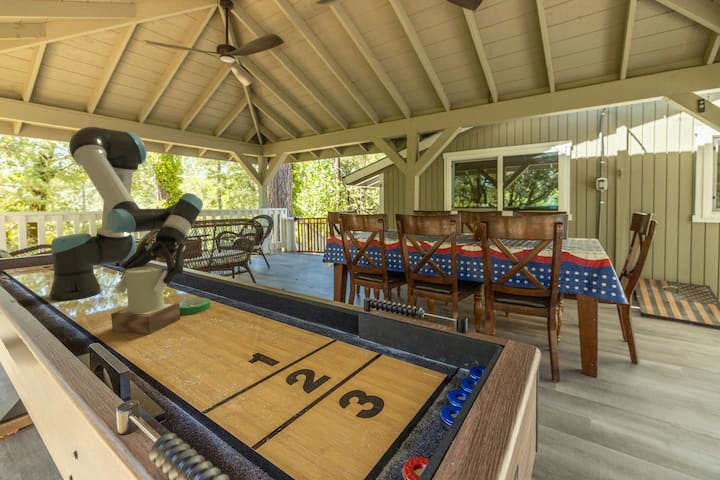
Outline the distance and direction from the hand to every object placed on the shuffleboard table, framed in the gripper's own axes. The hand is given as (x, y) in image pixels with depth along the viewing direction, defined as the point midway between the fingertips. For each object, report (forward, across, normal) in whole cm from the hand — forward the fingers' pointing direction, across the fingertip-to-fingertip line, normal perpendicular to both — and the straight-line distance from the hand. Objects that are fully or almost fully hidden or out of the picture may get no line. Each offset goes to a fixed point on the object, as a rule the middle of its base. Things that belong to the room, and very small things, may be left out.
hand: (138, 291), depth 96 cm
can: (+2, 0, -6) cm, 6 cm away
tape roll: (-5, -3, -21) cm, 22 cm away
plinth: (+6, 0, -10) cm, 11 cm away
